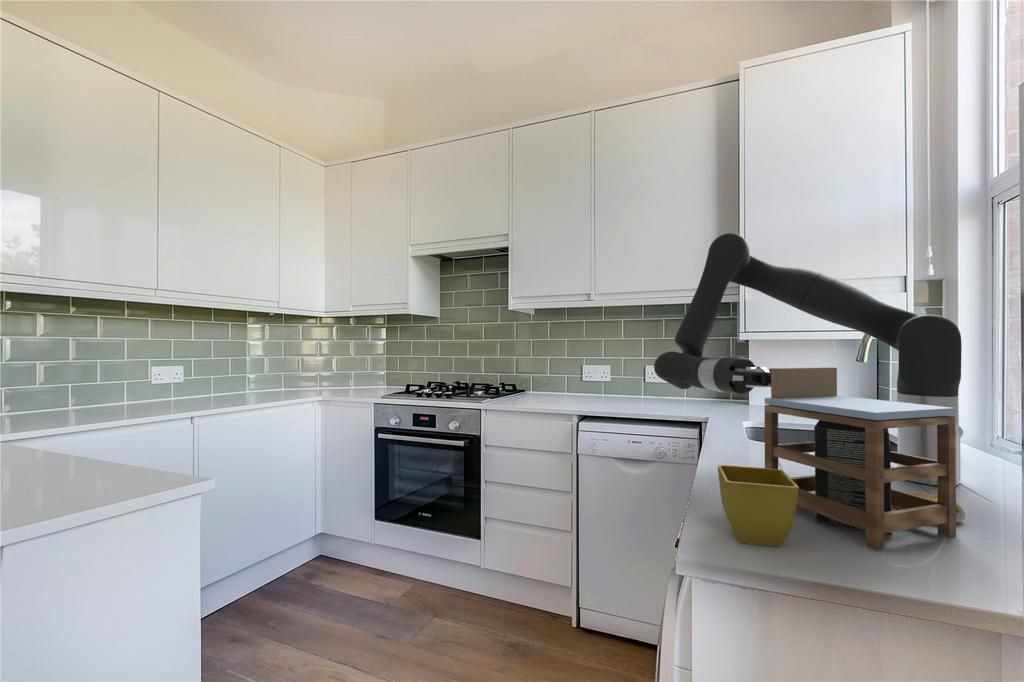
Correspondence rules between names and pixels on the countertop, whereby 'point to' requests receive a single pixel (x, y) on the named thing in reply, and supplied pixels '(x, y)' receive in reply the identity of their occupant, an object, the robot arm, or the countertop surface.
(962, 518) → the pastry
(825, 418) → the crate
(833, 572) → the countertop surface
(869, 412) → the lid
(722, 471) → the flower pot
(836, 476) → the tampon box
